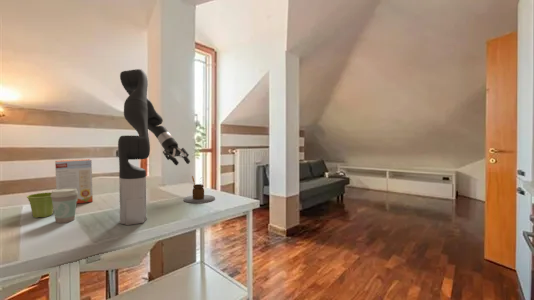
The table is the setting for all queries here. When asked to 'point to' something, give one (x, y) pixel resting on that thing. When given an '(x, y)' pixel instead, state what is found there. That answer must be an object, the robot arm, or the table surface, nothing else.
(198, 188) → the utensil holder
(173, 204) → the table surface
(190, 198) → the charcoal mat
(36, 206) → the plant pot
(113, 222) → the table surface
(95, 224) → the table surface
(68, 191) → the coffee cup
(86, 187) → the cracker box
